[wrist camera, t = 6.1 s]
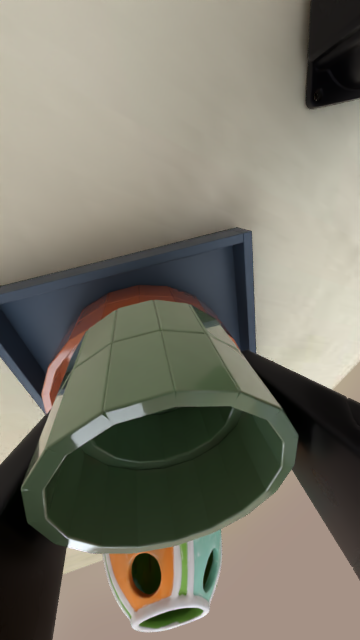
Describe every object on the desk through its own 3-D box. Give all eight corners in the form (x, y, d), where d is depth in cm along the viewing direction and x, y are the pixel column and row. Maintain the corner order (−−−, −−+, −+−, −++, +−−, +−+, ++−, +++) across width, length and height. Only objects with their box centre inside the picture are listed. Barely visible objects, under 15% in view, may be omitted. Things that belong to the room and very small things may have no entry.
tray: (237, 227, 16) (252, 230, 14) (248, 396, 25) (258, 413, 23) (-19, 290, 15) (-42, 304, 13) (89, 444, 24) (85, 466, 22)
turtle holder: (157, 516, 34) (168, 651, 24) (84, 466, 25) (51, 646, 15) (229, 483, 34) (271, 607, 24) (180, 419, 25) (214, 576, 14)
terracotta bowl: (213, 262, 17) (240, 283, 13) (229, 388, 24) (250, 430, 20) (29, 309, 16) (-9, 349, 12) (101, 426, 23) (94, 478, 19)
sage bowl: (219, 276, 8) (311, 351, 4) (231, 395, 11) (290, 507, 7) (44, 320, 7) (-60, 457, 3) (107, 432, 10) (92, 575, 6)
